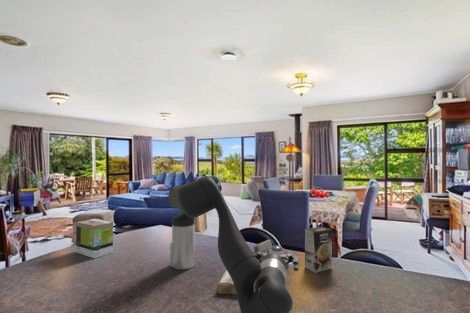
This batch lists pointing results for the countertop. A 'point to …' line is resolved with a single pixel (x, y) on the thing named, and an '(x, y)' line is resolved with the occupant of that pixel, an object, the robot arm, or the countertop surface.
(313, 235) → the coffee box
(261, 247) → the electrical switch
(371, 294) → the countertop surface
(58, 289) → the countertop surface
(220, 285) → the plinth
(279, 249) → the cylinder
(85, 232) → the tea box
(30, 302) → the countertop surface
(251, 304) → the robot arm
